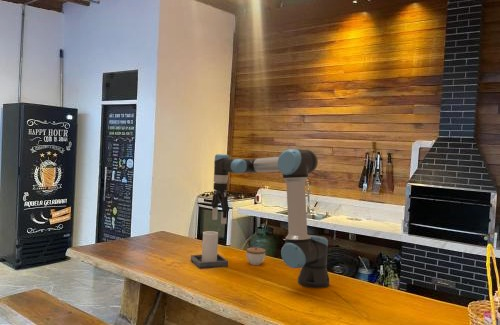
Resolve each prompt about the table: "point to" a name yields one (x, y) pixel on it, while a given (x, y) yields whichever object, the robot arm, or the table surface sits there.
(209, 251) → the cup
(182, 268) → the table surface
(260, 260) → the lidded jar
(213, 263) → the square metal tray
